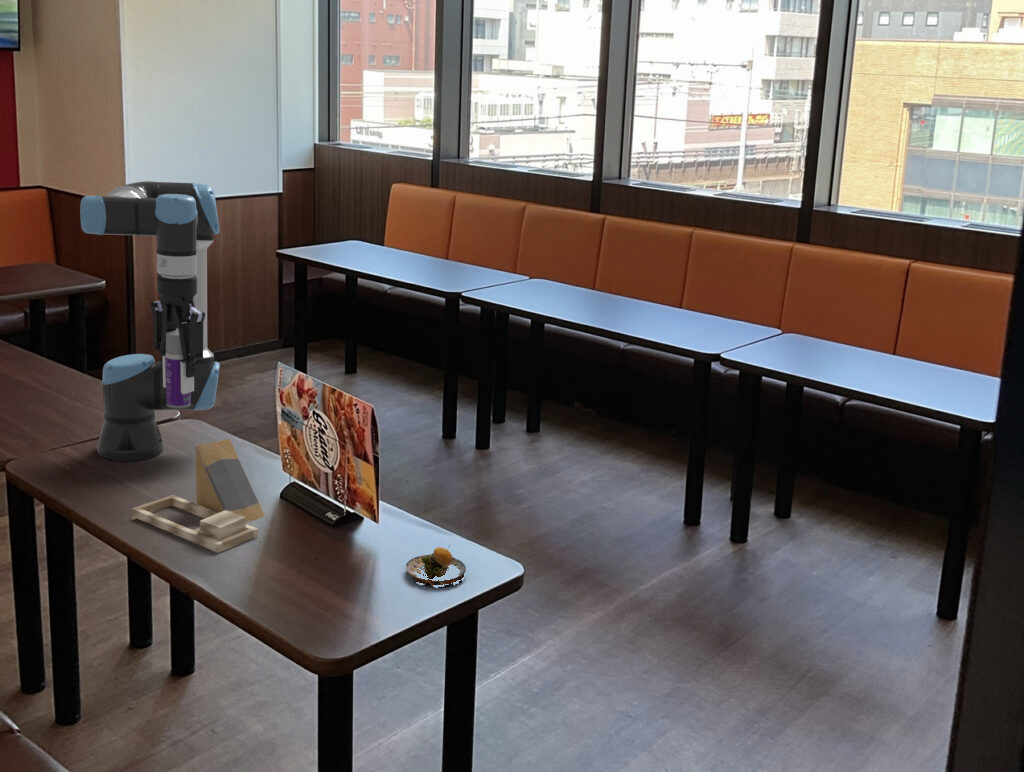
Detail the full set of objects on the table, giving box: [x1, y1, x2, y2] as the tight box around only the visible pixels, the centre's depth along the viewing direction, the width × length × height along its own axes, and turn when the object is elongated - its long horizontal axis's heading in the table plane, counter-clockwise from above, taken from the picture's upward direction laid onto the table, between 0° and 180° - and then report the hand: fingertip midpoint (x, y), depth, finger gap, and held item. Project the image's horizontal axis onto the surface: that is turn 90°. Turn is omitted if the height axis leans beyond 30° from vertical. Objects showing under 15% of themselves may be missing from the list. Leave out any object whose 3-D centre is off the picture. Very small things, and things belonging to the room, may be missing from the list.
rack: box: [131, 494, 259, 554], centre depth 220 cm, size 26×10×3 cm, turn 56°
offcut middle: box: [200, 526, 246, 541], centre depth 215 cm, size 6×7×2 cm
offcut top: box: [199, 510, 247, 537], centre depth 215 cm, size 6×7×2 cm
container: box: [166, 330, 191, 408], centre depth 216 cm, size 5×5×15 cm
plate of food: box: [406, 544, 467, 587], centre depth 209 cm, size 12×12×8 cm
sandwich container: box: [195, 438, 266, 523], centre depth 227 cm, size 9×15×15 cm, turn 47°
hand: (178, 388), depth 217 cm, fingers closed on container, 5 cm apart
